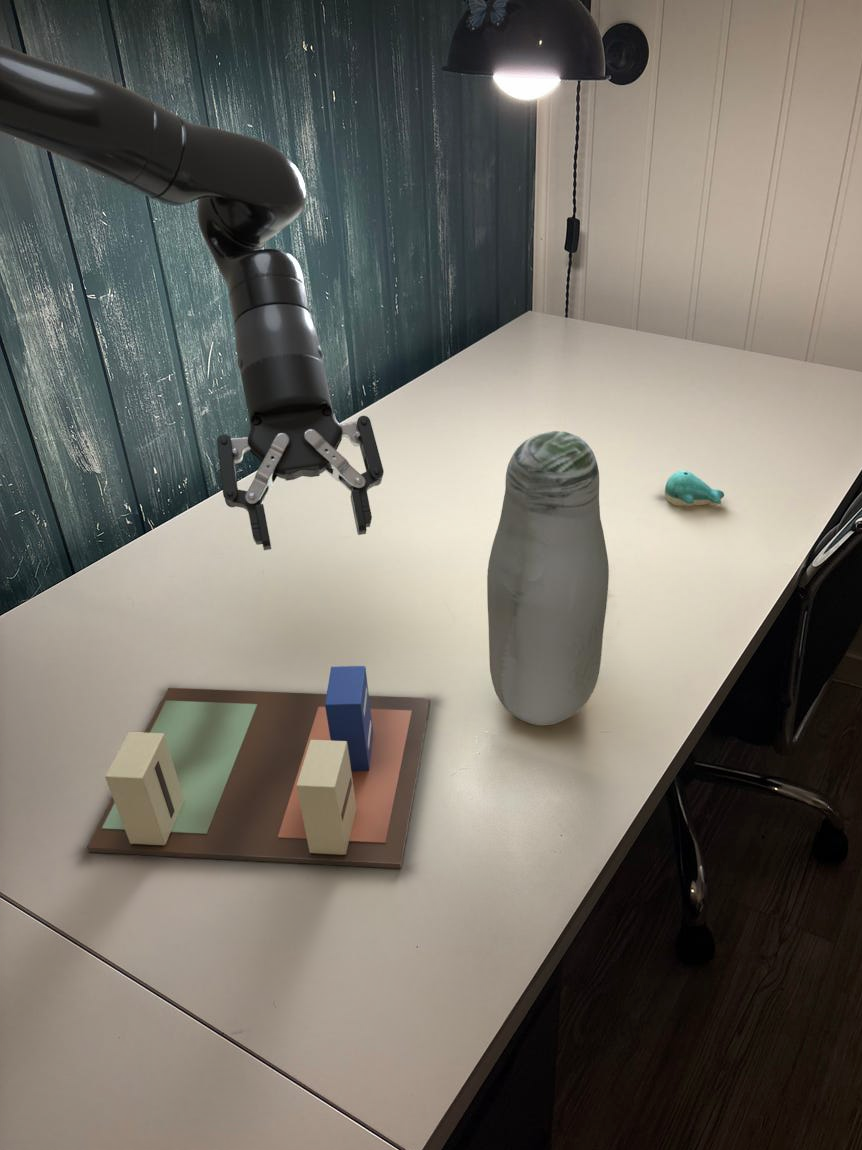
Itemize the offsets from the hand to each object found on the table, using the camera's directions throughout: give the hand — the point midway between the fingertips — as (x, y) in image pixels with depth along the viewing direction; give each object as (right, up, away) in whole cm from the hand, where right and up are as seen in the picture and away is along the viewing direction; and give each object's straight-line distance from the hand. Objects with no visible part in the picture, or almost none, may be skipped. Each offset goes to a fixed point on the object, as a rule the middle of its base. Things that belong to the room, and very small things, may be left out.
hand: (315, 540), depth 85 cm
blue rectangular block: (+3, -19, +1) cm, 19 cm away
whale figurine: (+42, +9, +36) cm, 56 cm away
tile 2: (+3, -25, -6) cm, 26 cm away
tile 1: (-12, -24, -5) cm, 28 cm away
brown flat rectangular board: (-4, -21, 0) cm, 21 cm away
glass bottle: (+21, -16, +6) cm, 27 cm away
